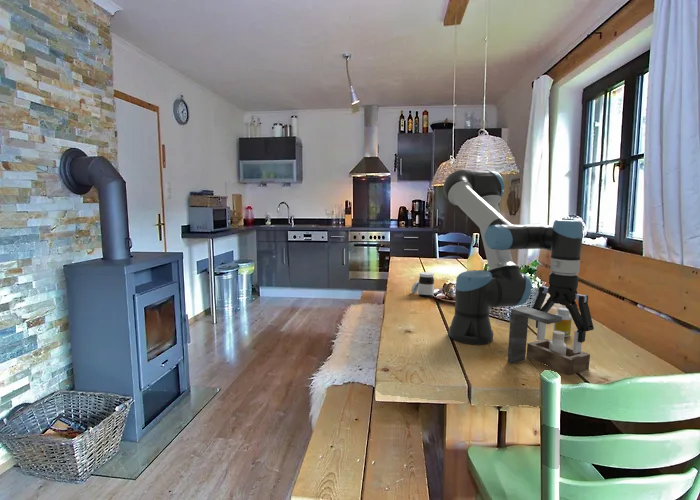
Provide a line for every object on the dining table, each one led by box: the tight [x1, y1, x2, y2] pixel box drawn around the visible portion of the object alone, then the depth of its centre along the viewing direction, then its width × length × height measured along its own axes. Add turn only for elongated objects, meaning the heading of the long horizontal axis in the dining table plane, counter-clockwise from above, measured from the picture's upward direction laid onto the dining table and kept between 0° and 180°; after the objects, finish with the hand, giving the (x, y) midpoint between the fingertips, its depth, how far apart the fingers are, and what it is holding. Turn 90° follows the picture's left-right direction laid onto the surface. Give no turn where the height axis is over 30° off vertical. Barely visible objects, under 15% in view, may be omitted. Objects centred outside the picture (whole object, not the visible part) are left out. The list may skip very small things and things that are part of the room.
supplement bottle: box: [553, 307, 573, 338], centre depth 142 cm, size 5×5×10 cm
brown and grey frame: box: [506, 306, 591, 376], centre depth 114 cm, size 14×18×17 cm
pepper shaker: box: [549, 330, 568, 356], centre depth 117 cm, size 4×4×10 cm
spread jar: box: [410, 271, 435, 299], centre depth 198 cm, size 12×11×12 cm
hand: (557, 345), depth 117 cm, fingers open, 11 cm apart
